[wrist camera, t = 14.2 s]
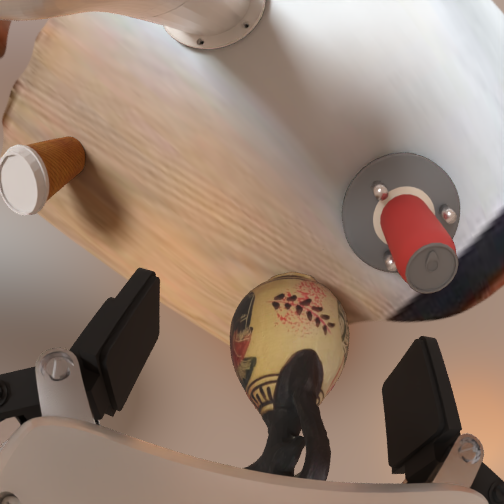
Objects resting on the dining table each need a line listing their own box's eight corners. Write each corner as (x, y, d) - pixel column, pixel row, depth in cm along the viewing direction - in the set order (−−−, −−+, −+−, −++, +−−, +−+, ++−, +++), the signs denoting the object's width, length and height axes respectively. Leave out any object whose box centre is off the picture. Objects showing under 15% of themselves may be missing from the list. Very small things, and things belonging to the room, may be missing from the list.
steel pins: (373, 178, 36) (377, 185, 33) (451, 205, 35) (458, 213, 33) (347, 250, 41) (349, 260, 39) (421, 270, 40) (426, 280, 38)
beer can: (425, 188, 35) (464, 233, 24) (428, 235, 38) (460, 291, 27) (375, 196, 36) (398, 245, 26) (381, 244, 39) (401, 303, 29)
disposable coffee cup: (88, 121, 39) (30, 142, 28) (99, 183, 43) (48, 218, 33) (44, 131, 40) (-12, 154, 30) (55, 187, 45) (5, 219, 35)
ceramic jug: (303, 348, 53) (285, 522, 27) (224, 304, 51) (160, 484, 25) (374, 283, 44) (406, 488, 19) (287, 224, 42) (247, 447, 17)
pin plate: (363, 135, 35) (365, 137, 33) (472, 177, 34) (477, 181, 33) (326, 250, 43) (327, 256, 42) (427, 277, 42) (430, 283, 41)
